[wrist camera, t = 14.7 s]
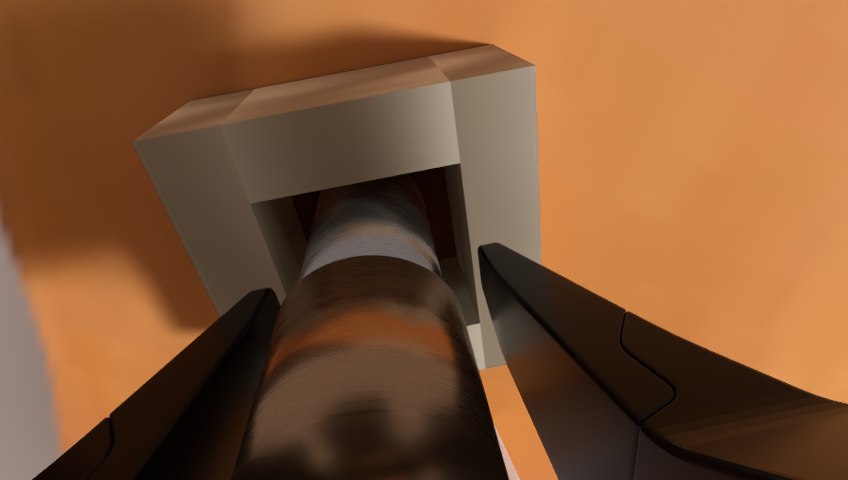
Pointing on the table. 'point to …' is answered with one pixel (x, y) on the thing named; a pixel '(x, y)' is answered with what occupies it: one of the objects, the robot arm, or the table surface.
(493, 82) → the socket block
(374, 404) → the flashlight
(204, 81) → the table surface
